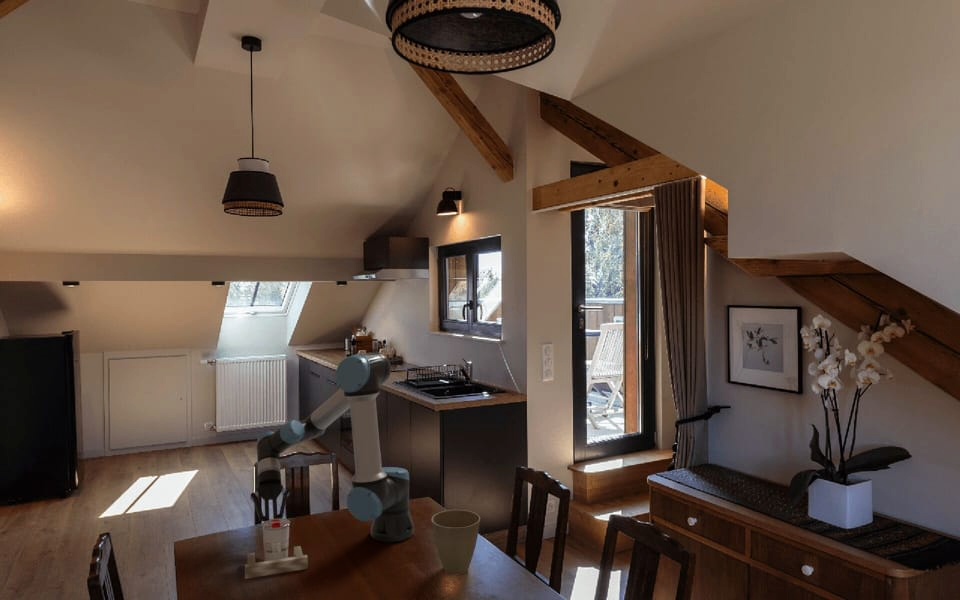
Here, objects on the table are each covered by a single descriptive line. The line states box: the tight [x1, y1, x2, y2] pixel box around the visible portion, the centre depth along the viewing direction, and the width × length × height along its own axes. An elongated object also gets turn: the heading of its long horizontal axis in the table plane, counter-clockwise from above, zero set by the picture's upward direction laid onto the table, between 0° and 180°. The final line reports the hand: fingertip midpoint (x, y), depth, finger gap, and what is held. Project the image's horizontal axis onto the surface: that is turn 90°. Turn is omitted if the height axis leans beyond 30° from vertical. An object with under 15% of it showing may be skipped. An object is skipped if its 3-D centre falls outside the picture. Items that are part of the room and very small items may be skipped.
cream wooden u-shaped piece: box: [244, 545, 309, 580], centre depth 192 cm, size 18×11×4 cm, turn 112°
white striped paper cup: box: [261, 518, 293, 561], centre depth 195 cm, size 10×8×12 cm
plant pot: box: [431, 509, 481, 575], centre depth 189 cm, size 15×15×16 cm
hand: (272, 539), depth 199 cm, fingers closed
